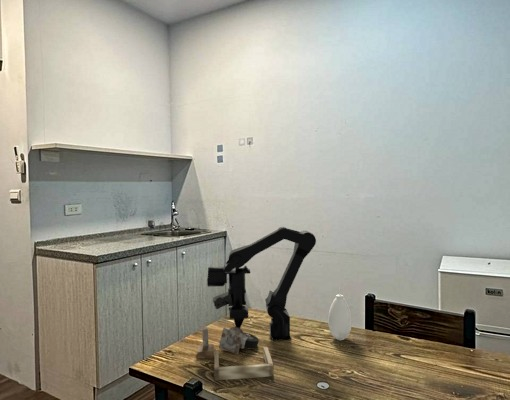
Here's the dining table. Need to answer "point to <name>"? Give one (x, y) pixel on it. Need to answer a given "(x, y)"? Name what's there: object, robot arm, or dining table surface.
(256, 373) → the cradle
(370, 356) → the dining table surface
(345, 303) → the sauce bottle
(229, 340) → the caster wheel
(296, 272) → the robot arm
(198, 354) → the stand rod
